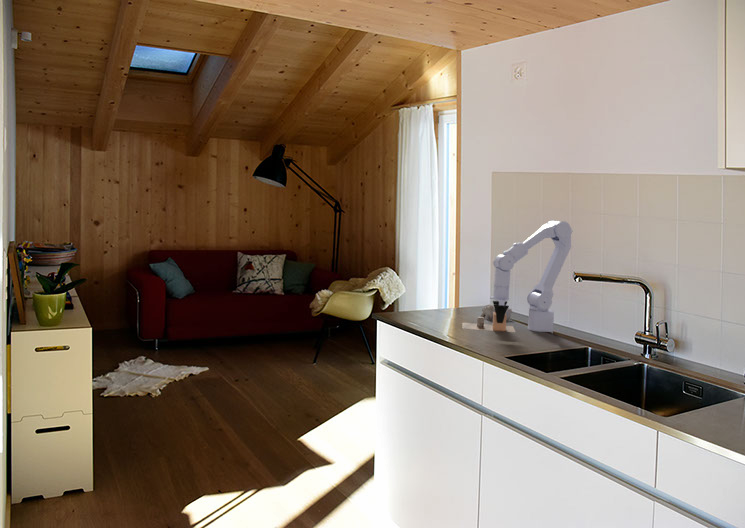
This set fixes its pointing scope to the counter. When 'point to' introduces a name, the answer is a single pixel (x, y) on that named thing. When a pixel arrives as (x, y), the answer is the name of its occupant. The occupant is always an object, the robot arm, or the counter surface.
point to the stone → (489, 312)
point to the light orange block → (499, 325)
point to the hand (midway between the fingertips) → (499, 321)
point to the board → (484, 326)
